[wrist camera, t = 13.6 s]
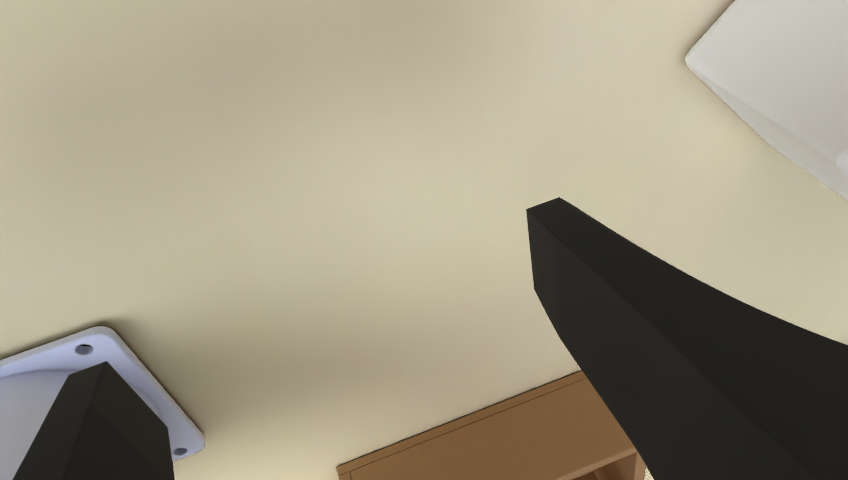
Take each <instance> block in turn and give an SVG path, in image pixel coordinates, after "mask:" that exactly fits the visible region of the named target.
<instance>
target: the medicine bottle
mask: <svg viewBox="0 0 848 480" xmlns="http://www.w3.org/2000/svg"><path fill="white" fill-rule="evenodd" d="M685 62H686V65H687V66H688V68H689V69H690V70H691V71H692V72H693V73H695V74H696V75H697V76H698V77H699V78H700V79H701V80H702V81H703V82H704V83H705V84H706V85H707V86H708V87H709V88H710V89H711V90H712V91H713V92H714V93H715V94H716V95H717V96H718V97H719V98H720V99H721V100H723V101H724V102H725V103H726V104H727V105H728V106H729V107H730V108H731V109H732V110H733V111H734V112H735V113H736V114H737V115H738V116H739V117H740V118H741V119H742V120H743V121H744V122H745V123H746V124H747V125H748V126H749V127H751V128H752V129H753V130H754V131H755V132H756V133H757V134H758V135H759V136H760V137H761V138H762V139H763V140H764V141H765V142H766V143H767V144H768V145H769V146H771V147H772V148H774V149H775V150H776V151H778V152H779V153H781V154H782V155H783V156H785V157H786V158H788V159H789V160H790V161H792V162H793V163H795V164H796V165H797V166H799V167H800V168H802V169H803V170H805V171H806V172H807V173H809V174H810V175H812V176H813V177H814V178H816V179H817V180H819V181H820V182H821V183H823V184H824V185H826V186H827V187H828V188H830V189H831V190H833V191H834V192H836V193H837V194H838V195H840V196H841V197H843V198H844V199H845V200H847V201H848V0H735V1H734V2H733V3H732V4H731V5H730V6H729V7H728V8H727V10H726V11H725V12H724V13H723V14H722V15H721V16H720V17H719V18H718V20H717V21H716V22H715V23H714V24H713V25H712V26H711V27H710V28H709V30H708V31H707V32H706V33H705V34H704V35H703V36H702V37H701V38H700V40H699V41H698V42H697V43H696V44H695V45H694V46H693V47H692V48H691V50H690V51H689V52H688V53H687V55H686V58H685Z"/></svg>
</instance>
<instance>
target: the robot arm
mask: <svg viewBox="0 0 848 480" xmlns="http://www.w3.org/2000/svg"><path fill="white" fill-rule="evenodd" d="M526 211H527V221H528V231H529V241H530V251H531V261H532V271H533V281H534V290H535V292H536V294H537V296H538V297H539V299H540V301H541V303H542V305H543V307H544V309H545V311H546V313H547V315H548V317H549V319H550V321H551V323H552V324H553V326H554V328H555V330H556V332H557V334H558V336H559V337H560V339H561V340H562V342H563V343H564V345H565V346H566V348H567V349H568V351H569V352H570V354H571V355H572V357H573V358H574V359H575V361H576V362H577V364H578V365H579V367H580V368H581V370H582V371H583V373H584V374H585V376H586V377H587V378H588V380H589V381H590V383H591V384H592V386H593V387H594V389H595V390H596V391H597V393H598V394H599V396H600V397H601V399H602V400H603V401H604V403H605V404H606V406H607V407H608V409H609V410H610V412H611V413H612V414H613V416H614V417H615V419H616V420H617V422H618V423H619V425H620V426H621V427H622V429H623V430H624V432H625V433H626V435H627V436H628V438H629V439H630V441H631V442H632V444H633V445H634V447H635V448H636V450H637V452H638V453H639V455H640V456H641V458H642V459H643V461H644V463H645V464H646V466H647V468H648V470H649V471H650V473H651V475H652V477H653V479H654V480H848V345H846V344H843V343H840V342H837V341H834V340H831V339H829V338H826V337H824V336H821V335H818V334H816V333H813V332H811V331H808V330H806V329H803V328H801V327H798V326H796V325H794V324H791V323H789V322H787V321H784V320H782V319H780V318H777V317H775V316H773V315H770V314H768V313H766V312H763V311H761V310H759V309H756V308H754V307H752V306H750V305H748V304H746V303H744V302H741V301H739V300H737V299H735V298H733V297H731V296H729V295H727V294H725V293H723V292H721V291H719V290H717V289H715V288H713V287H711V286H709V285H707V284H705V283H703V282H701V281H699V280H697V279H696V278H694V277H692V276H690V275H688V274H686V273H685V272H683V271H681V270H679V269H677V268H675V267H674V266H672V265H670V264H668V263H667V262H665V261H663V260H661V259H660V258H658V257H656V256H654V255H653V254H651V253H649V252H647V251H646V250H644V249H642V248H640V247H639V246H637V245H635V244H634V243H632V242H630V241H629V240H627V239H626V238H624V237H622V236H621V235H619V234H617V233H616V232H614V231H613V230H611V229H609V228H608V227H606V226H605V225H603V224H601V223H600V222H598V221H597V220H595V219H594V218H592V217H590V216H589V215H587V214H586V213H584V212H583V211H581V210H579V209H578V208H576V207H575V206H573V205H572V204H570V203H568V202H567V201H565V200H563V199H562V198H560V197H559V198H556V199H553V200H550V201H548V202H545V203H542V204H539V205H537V206H534V207H531V208H528V209H526ZM82 344H87V345H90V346H80V345H82ZM204 446H205V437H204V435H203V434H202V433H201V432H200V430H199V429H198V428H197V427H196V426H195V425H194V423H193V422H192V421H191V420H190V419H189V418H188V416H187V415H186V414H185V413H184V412H183V411H182V409H181V408H180V407H179V406H178V405H177V404H176V402H175V401H174V400H173V399H172V398H171V397H170V395H169V394H168V393H167V392H166V391H165V390H164V388H163V387H162V386H161V385H160V384H159V383H158V381H157V380H156V379H155V378H154V377H153V376H152V374H151V373H150V372H149V371H148V370H147V369H146V367H145V366H144V365H143V364H142V363H141V362H140V360H139V359H138V358H137V357H136V356H135V355H134V353H133V352H132V351H131V350H130V349H129V348H128V346H127V345H126V344H125V343H124V342H123V341H122V339H121V338H120V337H119V336H118V335H117V334H116V332H115V331H113V330H112V329H111V328H108V327H105V326H97V327H92V328H89V329H86V330H84V331H81V332H78V333H75V334H72V335H70V336H67V337H64V338H61V339H58V340H56V341H53V342H50V343H47V344H44V345H41V346H39V347H36V348H33V349H30V350H27V351H25V352H22V353H19V354H16V355H13V356H11V357H8V358H5V359H2V360H0V480H174V472H173V461H175V460H178V459H181V458H183V457H186V456H189V455H191V454H194V453H196V452H198V451H200V450H202V449H203V448H204Z"/></svg>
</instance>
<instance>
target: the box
mask: <svg viewBox="0 0 848 480" xmlns="http://www.w3.org/2000/svg"><path fill="white" fill-rule="evenodd" d="M645 468H646V464H645V463H644V461H643V459H642V458H641V456H640V455H639V453H638V452H637V450H636V448H635V447H634V445H633V444H632V442H631V441H630V439H629V438H628V436H627V435H626V433H625V432H624V430H623V429H622V427H621V426H620V425H619V423H618V422H617V420H616V419H615V417H614V416H613V414H612V413H611V412H610V410H609V409H608V407H607V406H606V404H605V403H604V401H603V400H602V399H601V397H600V396H599V394H598V393H597V391H596V390H595V389H594V387H593V386H592V384H591V383H590V381H589V380H588V378H587V377H586V376H585V374H584V373H583V371H580V372H577V373H574V374H572V375H569V376H567V377H564V378H562V379H559V380H557V381H554V382H552V383H549V384H546V385H544V386H541V387H539V388H536V389H534V390H531V391H529V392H526V393H524V394H521V395H518V396H516V397H513V398H511V399H508V400H506V401H503V402H501V403H498V404H496V405H493V406H490V407H488V408H485V409H483V410H480V411H478V412H475V413H473V414H470V415H468V416H465V417H462V418H460V419H457V420H455V421H452V422H450V423H447V424H445V425H442V426H440V427H437V428H434V429H432V430H429V431H427V432H424V433H422V434H419V435H417V436H414V437H412V438H409V439H407V440H404V441H401V442H399V443H396V444H394V445H391V446H389V447H386V448H384V449H381V450H379V451H376V452H373V453H371V454H368V455H366V456H363V457H361V458H358V459H356V460H353V461H351V462H348V463H345V464H343V465H340V466H338V467H337V473H338V476H339V480H644V476H645Z"/></svg>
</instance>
